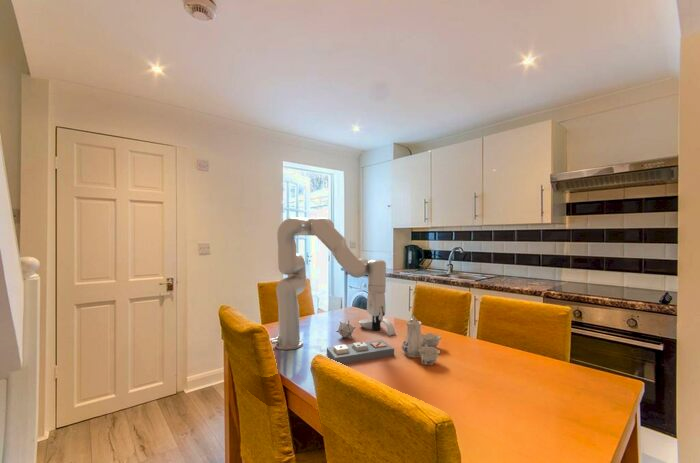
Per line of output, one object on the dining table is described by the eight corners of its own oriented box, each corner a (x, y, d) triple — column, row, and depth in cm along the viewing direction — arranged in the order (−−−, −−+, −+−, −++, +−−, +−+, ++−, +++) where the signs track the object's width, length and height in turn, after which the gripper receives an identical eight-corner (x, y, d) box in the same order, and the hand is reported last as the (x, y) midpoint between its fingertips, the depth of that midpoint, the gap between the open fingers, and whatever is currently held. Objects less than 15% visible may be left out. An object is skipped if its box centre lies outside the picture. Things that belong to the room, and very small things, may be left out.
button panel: (335, 365, 127) (335, 357, 127) (326, 354, 138) (326, 347, 138) (394, 355, 136) (394, 348, 136) (381, 346, 147) (381, 339, 147)
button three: (375, 352, 137) (375, 346, 137) (370, 348, 141) (370, 342, 141) (386, 350, 138) (386, 344, 138) (381, 347, 143) (381, 341, 143)
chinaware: (443, 374, 121) (447, 330, 121) (399, 366, 125) (402, 323, 124) (438, 347, 149) (441, 311, 148) (402, 342, 152) (405, 307, 152)
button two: (356, 352, 134) (356, 346, 134) (352, 348, 138) (352, 342, 138) (368, 351, 135) (367, 345, 135) (363, 347, 140) (363, 341, 140)
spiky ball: (349, 346, 159) (355, 333, 154) (333, 340, 159) (338, 326, 154) (352, 332, 166) (358, 319, 161) (337, 326, 167) (342, 313, 161)
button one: (337, 355, 131) (337, 349, 131) (333, 351, 135) (333, 345, 135) (348, 354, 132) (348, 347, 132) (344, 350, 137) (344, 344, 137)
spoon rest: (354, 327, 178) (354, 314, 178) (370, 323, 185) (370, 311, 185) (384, 338, 159) (383, 323, 159) (400, 333, 166) (400, 319, 166)
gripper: (362, 286, 146) (361, 326, 146) (376, 292, 132) (375, 337, 132) (377, 285, 148) (376, 325, 148) (392, 291, 134) (391, 335, 134)
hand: (376, 330), depth 140 cm, fingers closed
